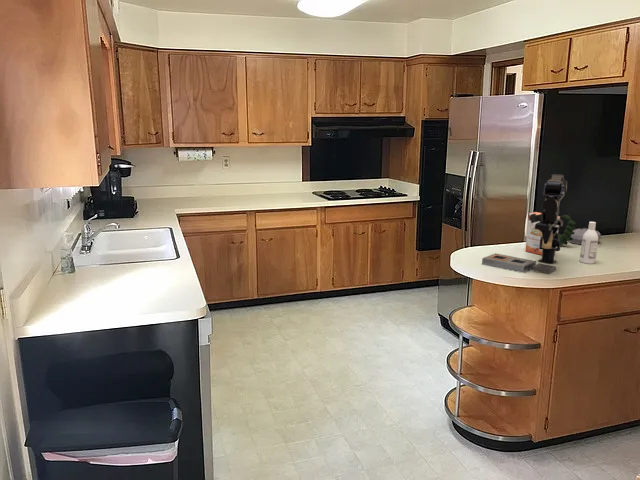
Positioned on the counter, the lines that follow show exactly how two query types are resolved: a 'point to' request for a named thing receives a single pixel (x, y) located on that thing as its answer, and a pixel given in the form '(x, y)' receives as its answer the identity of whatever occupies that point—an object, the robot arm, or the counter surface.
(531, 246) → the cracker box
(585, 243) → the bath foam
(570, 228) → the toy figurine
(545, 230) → the robot arm
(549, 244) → the barrel peg
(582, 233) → the grey rounded bag
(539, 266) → the grey square base
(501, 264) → the plate
